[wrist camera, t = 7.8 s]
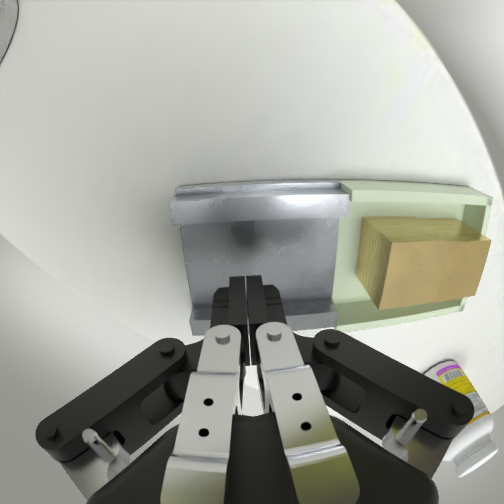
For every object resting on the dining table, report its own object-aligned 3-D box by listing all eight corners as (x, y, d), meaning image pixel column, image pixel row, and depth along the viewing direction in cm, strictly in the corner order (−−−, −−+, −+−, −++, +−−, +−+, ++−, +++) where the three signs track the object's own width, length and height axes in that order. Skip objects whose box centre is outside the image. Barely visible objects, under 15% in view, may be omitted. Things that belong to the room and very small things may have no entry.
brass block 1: (355, 274, 18) (378, 310, 14) (362, 216, 16) (392, 242, 13) (405, 270, 18) (433, 301, 14) (415, 216, 16) (450, 240, 13)
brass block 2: (404, 272, 18) (433, 303, 14) (414, 218, 16) (449, 242, 13) (445, 267, 18) (474, 295, 15) (456, 218, 16) (491, 240, 13)
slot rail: (197, 315, 20) (193, 338, 17) (179, 186, 16) (168, 196, 13) (325, 307, 20) (335, 330, 17) (335, 179, 16) (350, 188, 14)
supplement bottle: (418, 403, 27) (454, 483, 15) (401, 387, 25) (443, 483, 13) (461, 370, 25) (506, 446, 14) (450, 349, 23) (507, 439, 11)
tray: (325, 307, 20) (336, 333, 17) (335, 179, 16) (352, 190, 13) (445, 292, 20) (462, 310, 17) (468, 186, 16) (492, 197, 13)
